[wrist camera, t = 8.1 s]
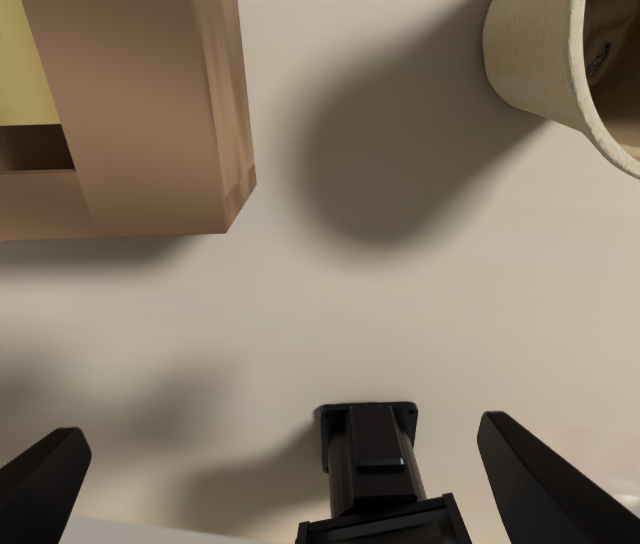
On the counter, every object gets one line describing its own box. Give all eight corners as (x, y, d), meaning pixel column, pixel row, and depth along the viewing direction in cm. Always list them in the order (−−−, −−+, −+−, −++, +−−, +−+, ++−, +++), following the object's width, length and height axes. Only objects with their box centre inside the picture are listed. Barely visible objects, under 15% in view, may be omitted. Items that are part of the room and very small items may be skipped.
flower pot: (422, 144, 17) (517, 185, 9) (465, -134, 13) (709, -497, 5) (614, 152, 17) (864, 197, 9) (718, -117, 13) (1317, -430, 5)
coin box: (256, 184, 17) (225, 233, 11) (10, 192, 17) (-162, 246, 11) (219, -170, 12) (121, -456, 6) (-136, -161, 12) (-624, -444, 6)
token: (137, 116, 16) (67, 123, 11) (82, 117, 15) (-11, 126, 11) (99, -47, 13) (-12, -123, 9) (34, -45, 13) (-111, -120, 9)
